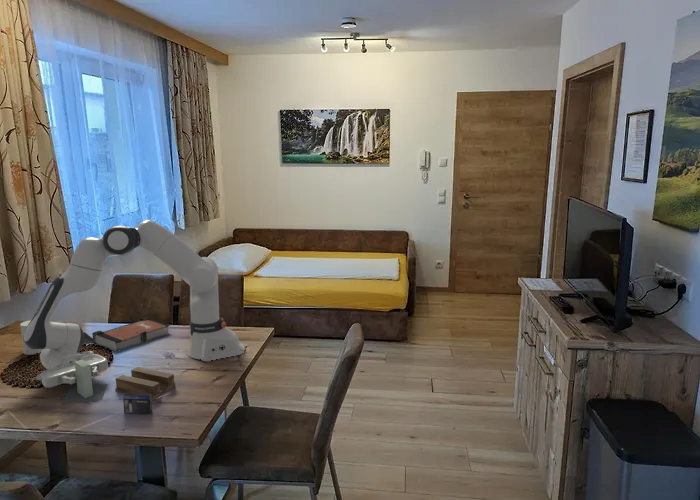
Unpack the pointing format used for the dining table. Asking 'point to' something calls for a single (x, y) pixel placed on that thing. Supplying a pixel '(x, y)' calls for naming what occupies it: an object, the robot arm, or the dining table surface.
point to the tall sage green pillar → (83, 378)
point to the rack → (145, 382)
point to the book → (130, 334)
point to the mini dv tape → (137, 403)
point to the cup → (25, 348)
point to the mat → (75, 397)
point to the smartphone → (87, 339)
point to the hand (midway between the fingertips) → (84, 377)
